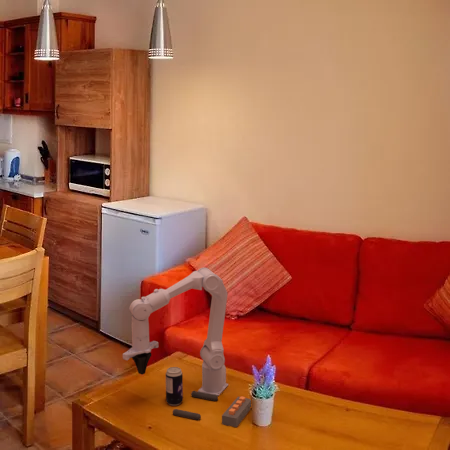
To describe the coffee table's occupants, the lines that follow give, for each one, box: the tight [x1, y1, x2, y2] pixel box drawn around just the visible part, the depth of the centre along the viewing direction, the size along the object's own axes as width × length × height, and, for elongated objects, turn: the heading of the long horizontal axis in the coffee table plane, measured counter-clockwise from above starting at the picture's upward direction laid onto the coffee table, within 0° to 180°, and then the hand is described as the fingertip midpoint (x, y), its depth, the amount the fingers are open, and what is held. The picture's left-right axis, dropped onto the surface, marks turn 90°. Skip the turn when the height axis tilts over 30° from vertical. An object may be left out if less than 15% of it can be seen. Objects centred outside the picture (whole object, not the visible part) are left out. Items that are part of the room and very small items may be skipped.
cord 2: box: [190, 390, 219, 402], centre depth 213 cm, size 2×10×2 cm, turn 67°
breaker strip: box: [221, 396, 251, 428], centre depth 201 cm, size 14×5×4 cm, turn 157°
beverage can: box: [165, 366, 184, 407], centre depth 209 cm, size 6×6×12 cm
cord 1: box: [172, 408, 202, 421], centre depth 200 cm, size 2×10×2 cm, turn 68°
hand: (141, 373), depth 209 cm, fingers closed
